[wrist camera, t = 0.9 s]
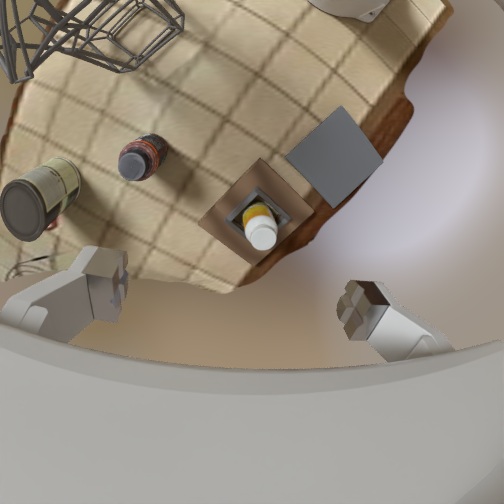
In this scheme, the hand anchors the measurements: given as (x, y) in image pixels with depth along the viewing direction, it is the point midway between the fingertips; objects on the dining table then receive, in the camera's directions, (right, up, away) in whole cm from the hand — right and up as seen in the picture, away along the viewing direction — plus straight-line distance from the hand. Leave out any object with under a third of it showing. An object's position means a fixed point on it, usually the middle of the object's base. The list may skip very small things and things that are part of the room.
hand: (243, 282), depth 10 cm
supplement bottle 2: (+1, +8, +41) cm, 42 cm away
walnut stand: (+1, +8, +41) cm, 42 cm away
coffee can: (-36, +15, +32) cm, 51 cm away
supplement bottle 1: (-17, +18, +32) cm, 41 cm away
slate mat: (+16, +18, +36) cm, 44 cm away
